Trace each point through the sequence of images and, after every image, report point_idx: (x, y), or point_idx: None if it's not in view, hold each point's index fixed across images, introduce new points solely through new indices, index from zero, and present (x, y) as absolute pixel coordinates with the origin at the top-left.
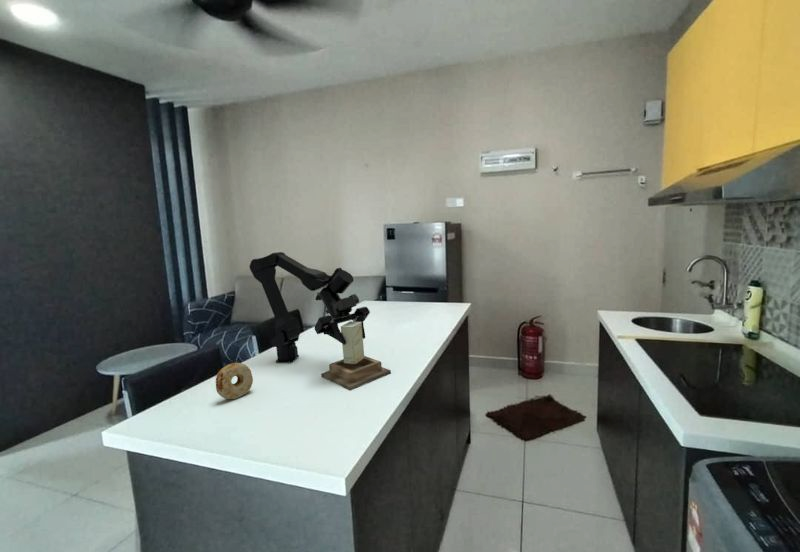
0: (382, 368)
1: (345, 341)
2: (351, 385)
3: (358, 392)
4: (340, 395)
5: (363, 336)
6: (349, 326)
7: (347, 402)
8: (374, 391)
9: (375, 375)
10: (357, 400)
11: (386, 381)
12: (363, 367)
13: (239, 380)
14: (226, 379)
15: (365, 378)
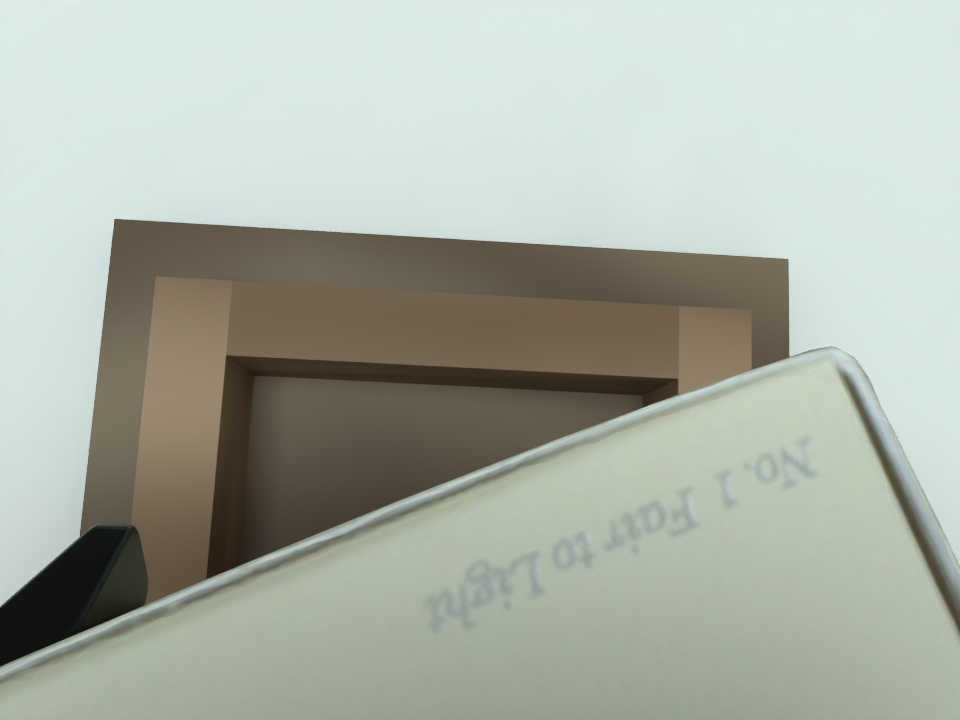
0: (129, 361)
1: None
2: (745, 278)
3: (738, 152)
4: (912, 256)
5: (124, 576)
6: (880, 547)
7: (949, 70)
8: (610, 29)
9: (360, 261)
10: (855, 21)
11: (343, 104)
12: (485, 329)
13: None
14: None
15: (504, 295)
